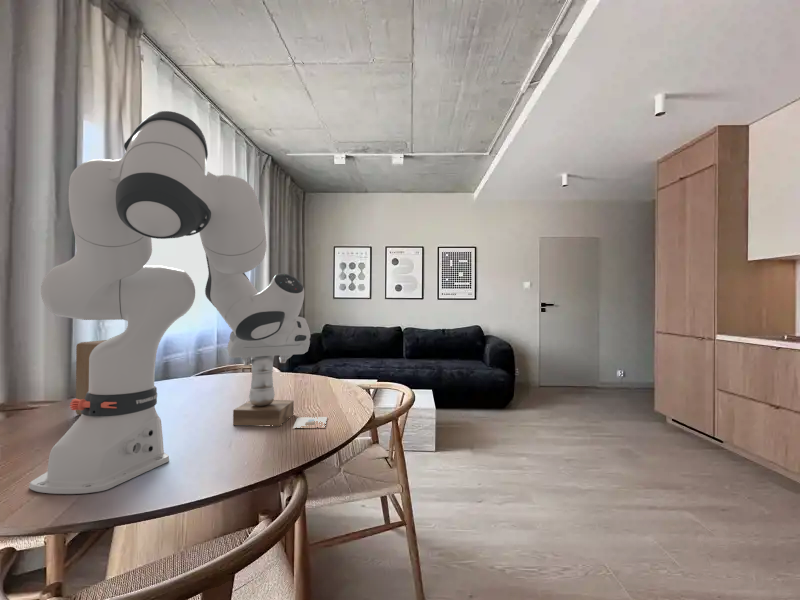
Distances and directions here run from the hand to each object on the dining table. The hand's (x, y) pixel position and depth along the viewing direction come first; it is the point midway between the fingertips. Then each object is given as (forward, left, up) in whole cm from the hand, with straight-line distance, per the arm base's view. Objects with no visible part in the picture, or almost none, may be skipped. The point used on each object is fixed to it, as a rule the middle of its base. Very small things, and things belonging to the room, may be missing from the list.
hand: (264, 362), depth 120 cm
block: (+2, +47, -16) cm, 49 cm away
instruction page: (-3, -13, -15) cm, 21 cm away
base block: (-1, 0, -15) cm, 15 cm away
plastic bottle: (-1, 0, -12) cm, 12 cm away
